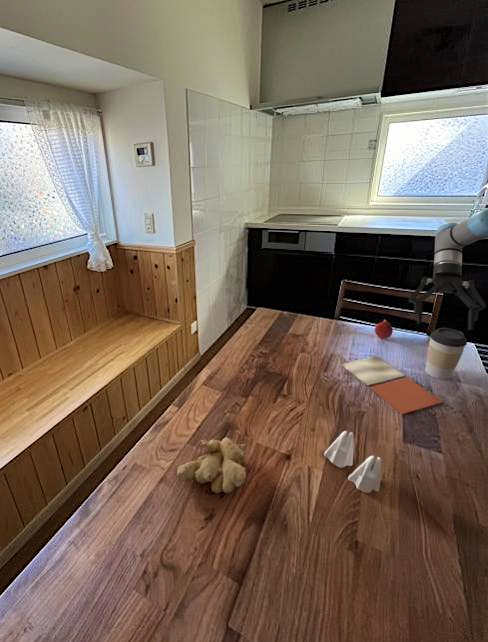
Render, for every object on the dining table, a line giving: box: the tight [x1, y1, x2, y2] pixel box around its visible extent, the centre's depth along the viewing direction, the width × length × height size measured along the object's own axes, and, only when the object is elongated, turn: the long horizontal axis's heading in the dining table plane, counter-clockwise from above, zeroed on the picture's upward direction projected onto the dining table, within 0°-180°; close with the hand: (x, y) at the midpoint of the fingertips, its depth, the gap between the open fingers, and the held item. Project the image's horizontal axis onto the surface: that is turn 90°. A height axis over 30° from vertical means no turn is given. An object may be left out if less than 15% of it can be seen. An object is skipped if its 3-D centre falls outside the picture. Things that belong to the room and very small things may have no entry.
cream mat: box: [341, 355, 406, 387], centre depth 110 cm, size 12×14×1 cm
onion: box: [374, 319, 394, 340], centre depth 126 cm, size 6×6×8 cm
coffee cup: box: [424, 327, 468, 381], centre depth 104 cm, size 9×9×15 cm
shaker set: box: [323, 430, 383, 494], centre depth 74 cm, size 12×4×11 cm, turn 30°
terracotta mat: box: [369, 377, 444, 415], centre depth 99 cm, size 12×14×1 cm
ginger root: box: [176, 437, 248, 494], centre depth 78 cm, size 16×16×8 cm
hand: (444, 326), depth 107 cm, fingers open, 13 cm apart
